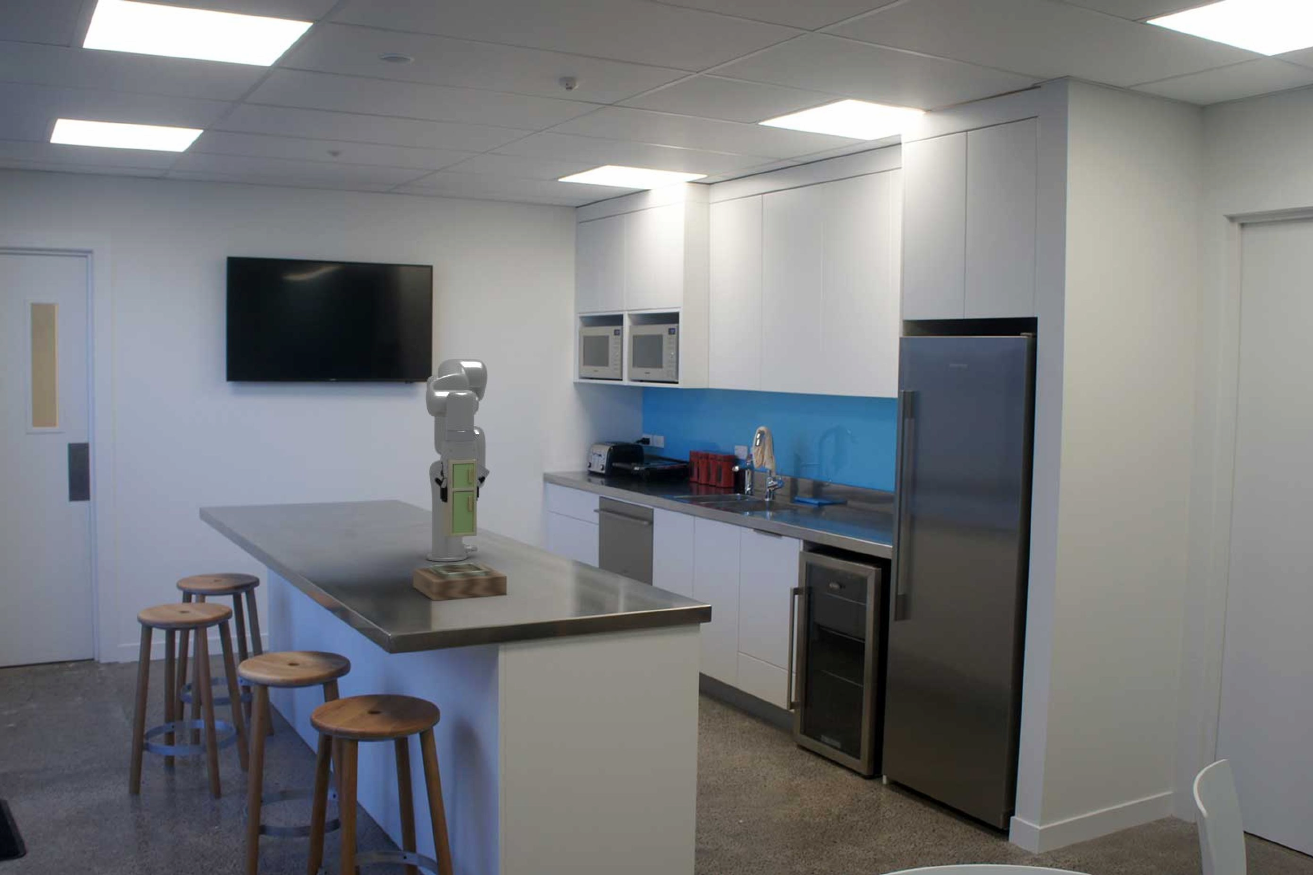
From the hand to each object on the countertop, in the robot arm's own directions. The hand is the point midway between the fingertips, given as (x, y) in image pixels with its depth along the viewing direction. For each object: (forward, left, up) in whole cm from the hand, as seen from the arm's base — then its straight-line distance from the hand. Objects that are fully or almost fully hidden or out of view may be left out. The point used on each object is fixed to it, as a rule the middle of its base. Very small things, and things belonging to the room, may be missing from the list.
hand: (459, 500), depth 305 cm
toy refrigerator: (0, 0, -10) cm, 10 cm away
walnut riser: (0, 0, -25) cm, 25 cm away
